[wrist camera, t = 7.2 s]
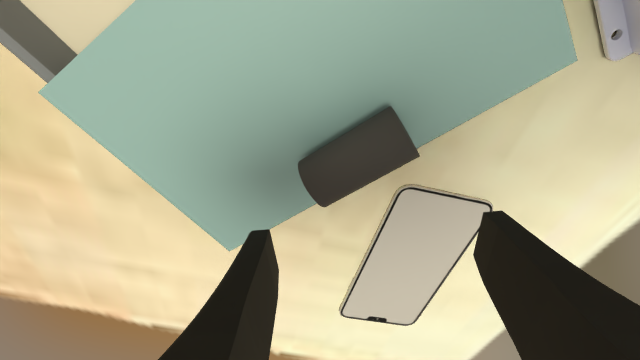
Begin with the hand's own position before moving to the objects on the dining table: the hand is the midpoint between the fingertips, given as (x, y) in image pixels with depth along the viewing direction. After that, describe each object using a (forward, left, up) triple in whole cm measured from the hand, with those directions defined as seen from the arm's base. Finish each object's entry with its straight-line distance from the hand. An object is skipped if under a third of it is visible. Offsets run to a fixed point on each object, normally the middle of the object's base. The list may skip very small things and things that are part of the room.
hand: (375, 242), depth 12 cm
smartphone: (-14, +3, -11) cm, 18 cm away
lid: (+4, 0, -7) cm, 8 cm away
